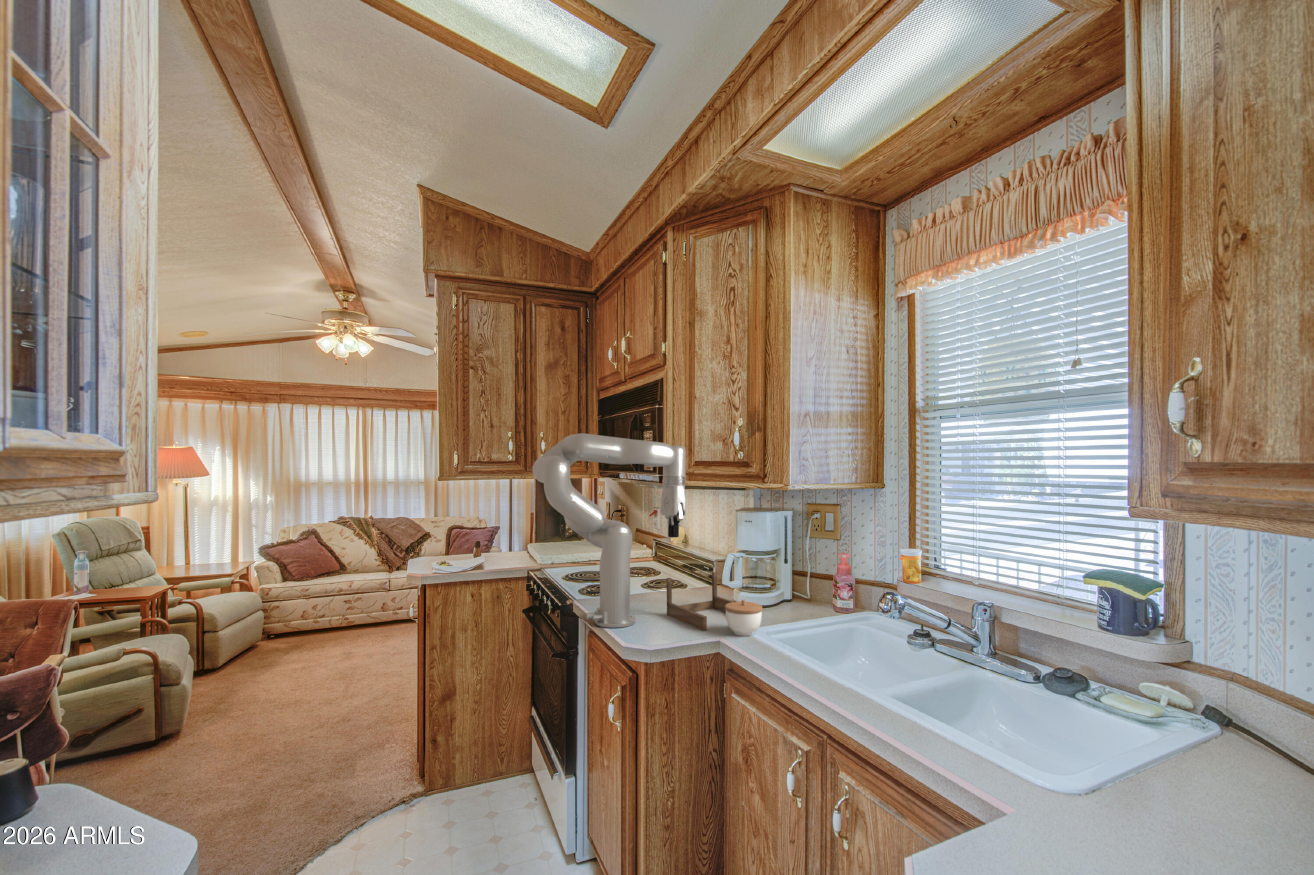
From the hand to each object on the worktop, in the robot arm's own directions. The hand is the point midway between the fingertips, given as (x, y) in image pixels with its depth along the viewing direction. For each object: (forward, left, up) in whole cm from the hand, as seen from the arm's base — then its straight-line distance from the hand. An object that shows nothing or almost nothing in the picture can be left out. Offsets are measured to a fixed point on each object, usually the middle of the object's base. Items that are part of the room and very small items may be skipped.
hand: (673, 537), depth 186 cm
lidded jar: (+6, -30, -25) cm, 39 cm away
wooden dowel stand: (+6, -12, -25) cm, 28 cm away
